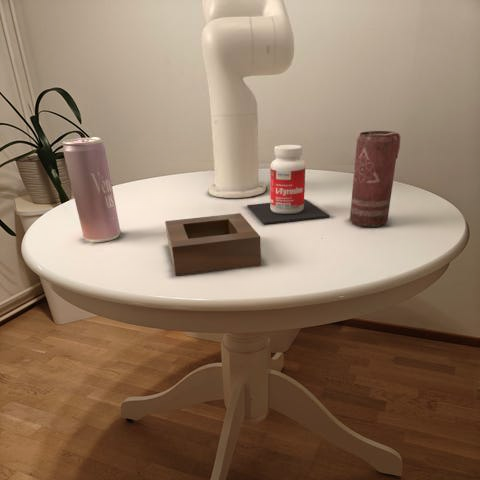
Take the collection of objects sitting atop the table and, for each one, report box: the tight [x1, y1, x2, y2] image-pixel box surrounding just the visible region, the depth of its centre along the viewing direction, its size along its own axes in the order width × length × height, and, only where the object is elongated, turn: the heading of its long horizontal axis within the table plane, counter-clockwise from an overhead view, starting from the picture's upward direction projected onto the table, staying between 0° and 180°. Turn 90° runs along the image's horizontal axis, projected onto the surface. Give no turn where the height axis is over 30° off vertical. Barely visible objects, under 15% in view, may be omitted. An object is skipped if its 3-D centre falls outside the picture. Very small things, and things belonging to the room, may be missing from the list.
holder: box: [164, 212, 262, 277], centre depth 60 cm, size 12×12×4 cm
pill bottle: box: [269, 144, 307, 214], centre depth 75 cm, size 6×6×11 cm
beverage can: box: [62, 137, 121, 243], centre depth 66 cm, size 6×6×15 cm
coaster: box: [246, 198, 330, 226], centre depth 78 cm, size 12×12×1 cm
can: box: [349, 130, 401, 228], centre depth 68 cm, size 6×6×14 cm
